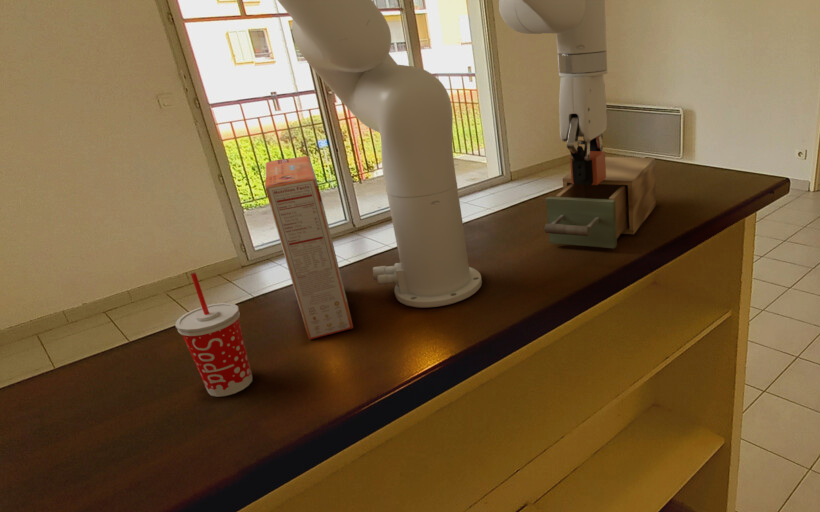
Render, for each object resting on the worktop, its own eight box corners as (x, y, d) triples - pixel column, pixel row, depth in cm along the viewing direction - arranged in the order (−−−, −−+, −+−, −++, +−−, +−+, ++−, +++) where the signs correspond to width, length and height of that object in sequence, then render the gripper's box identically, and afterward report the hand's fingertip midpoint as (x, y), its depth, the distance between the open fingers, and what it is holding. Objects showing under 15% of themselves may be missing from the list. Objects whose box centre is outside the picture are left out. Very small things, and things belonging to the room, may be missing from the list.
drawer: (602, 263, 93) (599, 215, 90) (534, 257, 97) (529, 210, 94) (639, 218, 110) (637, 176, 107) (580, 215, 114) (577, 174, 111)
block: (597, 185, 98) (596, 157, 96) (571, 184, 100) (569, 156, 98) (606, 177, 102) (605, 151, 100) (581, 176, 104) (579, 150, 102)
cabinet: (633, 234, 105) (632, 180, 102) (566, 229, 110) (562, 178, 106) (655, 206, 119) (655, 158, 115) (594, 203, 123) (592, 156, 120)
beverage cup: (187, 400, 68) (145, 286, 62) (224, 369, 73) (188, 262, 68) (237, 401, 67) (198, 286, 61) (270, 370, 72) (238, 261, 67)
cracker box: (301, 300, 90) (263, 160, 82) (343, 290, 92) (311, 153, 84) (305, 342, 78) (261, 184, 70) (354, 330, 80) (317, 175, 72)
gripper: (579, 59, 102) (584, 166, 109) (538, 71, 88) (547, 193, 95) (622, 58, 100) (625, 167, 107) (586, 70, 85) (593, 196, 92)
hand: (588, 178), depth 101 cm, fingers closed on block, 4 cm apart
